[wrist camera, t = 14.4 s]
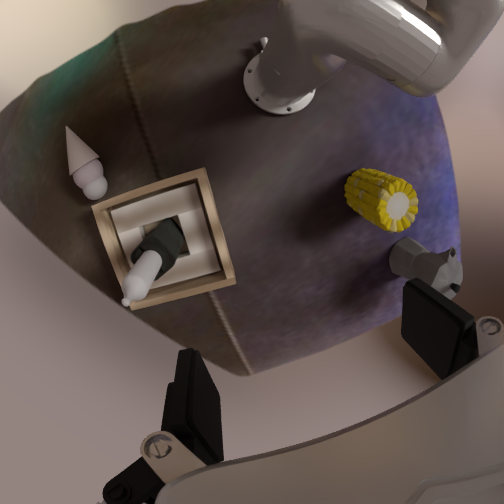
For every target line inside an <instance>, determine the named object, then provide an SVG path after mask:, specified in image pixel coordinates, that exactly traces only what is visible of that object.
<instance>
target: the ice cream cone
mask: <svg viewBox="0 0 504 504" xmlns="http://www.w3.org/2000/svg"><path fill="white" fill-rule="evenodd" d="M66 141H67V154H68V164H69V173H70V175H72V174H73V179H74V182H75V183H76V185H77V186H78V187H80V188H82V189H83V192H84V194H85V196H86V197H87V198H89V199H91V200H97V199H100V198H101V197H103V196H104V195H105V193H106V191H107V181H106V179H105V177H104V176H103V167H102V164H101V163H100V161H99V160H98V159H97V158H99V156H98V155H97V154H96V153H95V152H94V151H93V150H92V149H91V148H90V147H89V146H87V145H86V144H85V143H84V142H83V141H82V140H81V139H80V138H79V137H78V136H77V135H76V134H75V133H74V132H73V131H71V130H70V129H69V128H68V127H67V126H66Z"/></svg>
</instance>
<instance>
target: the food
mask: <svg viewBox="0 0 504 504" xmlns="http://www.w3.org/2000/svg"><path fill="white" fill-rule="evenodd" d="M344 188H345V191H346V192H345V195H344V196H345V197H346V198H347V204H348V205H349V206H350V207H352V209H353V210H354V211H356V212H358V213H359V214H360V215H362V217H364V218H365V219H368V220H369V221H371V222H372V223H373V224H374V225H377V226H379V228H382V229H383V230H386V231H389V232H390V233H391V232H399V233H400V232H401V231H402V230H403V229H407V228H408V227H409V226H410V225H411V223H413V222H414V218H415V214H417V213H418V207H417V206H416V205H417V204H418V199H417V197H416V196H417V194H416V192H415V190H414V189H412V185H411V184H409V183H407V182H406V181H404V180H403V179H400V178H397V177H394V176H392V175H391V174H386V173H384V172H380V171H378V170H372V169H364V168H362V169H359V170H358V171H356V172H354V173H352V176H349V177H348V179H347V183H346V184H345V185H344Z"/></svg>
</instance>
